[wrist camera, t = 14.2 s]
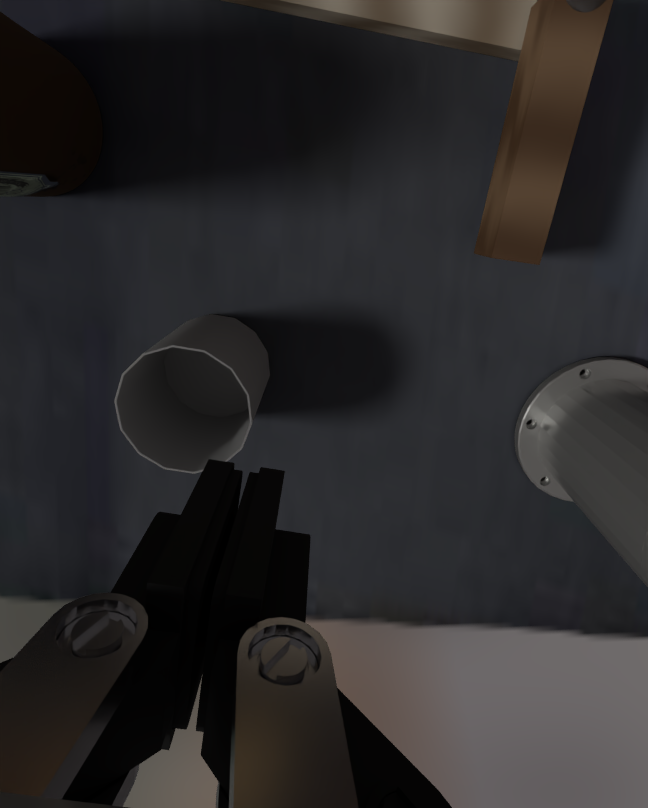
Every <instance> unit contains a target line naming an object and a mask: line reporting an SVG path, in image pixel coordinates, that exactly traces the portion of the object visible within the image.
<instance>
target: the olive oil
mask: <svg viewBox="0 0 648 808" xmlns="http://www.w3.org/2000/svg"><path fill="white" fill-rule="evenodd" d="M102 141H103V126H102V118H101V113H100V109H99V106H98V103H97V100H96V98H95V95H94V93H93V91H92V89H91V87H90V86H89V84H88V82H87V81H86V79H85V78H84V76H83V75H82V74H81V73H80V71H79V70H78V69H77V68H76V67H75V66H74V65H73V64H72V63H71V62H70V61H69V60H68V59H67V58H66V57H65V56H63V55H62V54H61V53H59V52H58V51H57V50H55V49H54V48H52V47H51V46H49V45H48V44H46V43H45V42H43V41H42V40H40V39H39V38H37V37H36V36H34V35H33V34H32V33H30V32H29V31H27V30H26V29H24V28H23V27H21V26H20V25H18V24H17V23H15V22H14V21H13V20H11V19H10V18H8V17H7V16H6V15H4V14H3V13H1V12H0V196H14V197H16V196H36V197H46V196H56V195H60V194H64V193H67V192H69V191H71V190H73V189H75V188H76V187H78V186H79V185H81V184H82V183H83V182H84V181H85V180H86V179H87V178H88V177H89V175H90V174H91V173H92V171H93V170H94V168H95V166H96V164H97V162H98V159H99V156H100V152H101V148H102Z"/></svg>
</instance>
